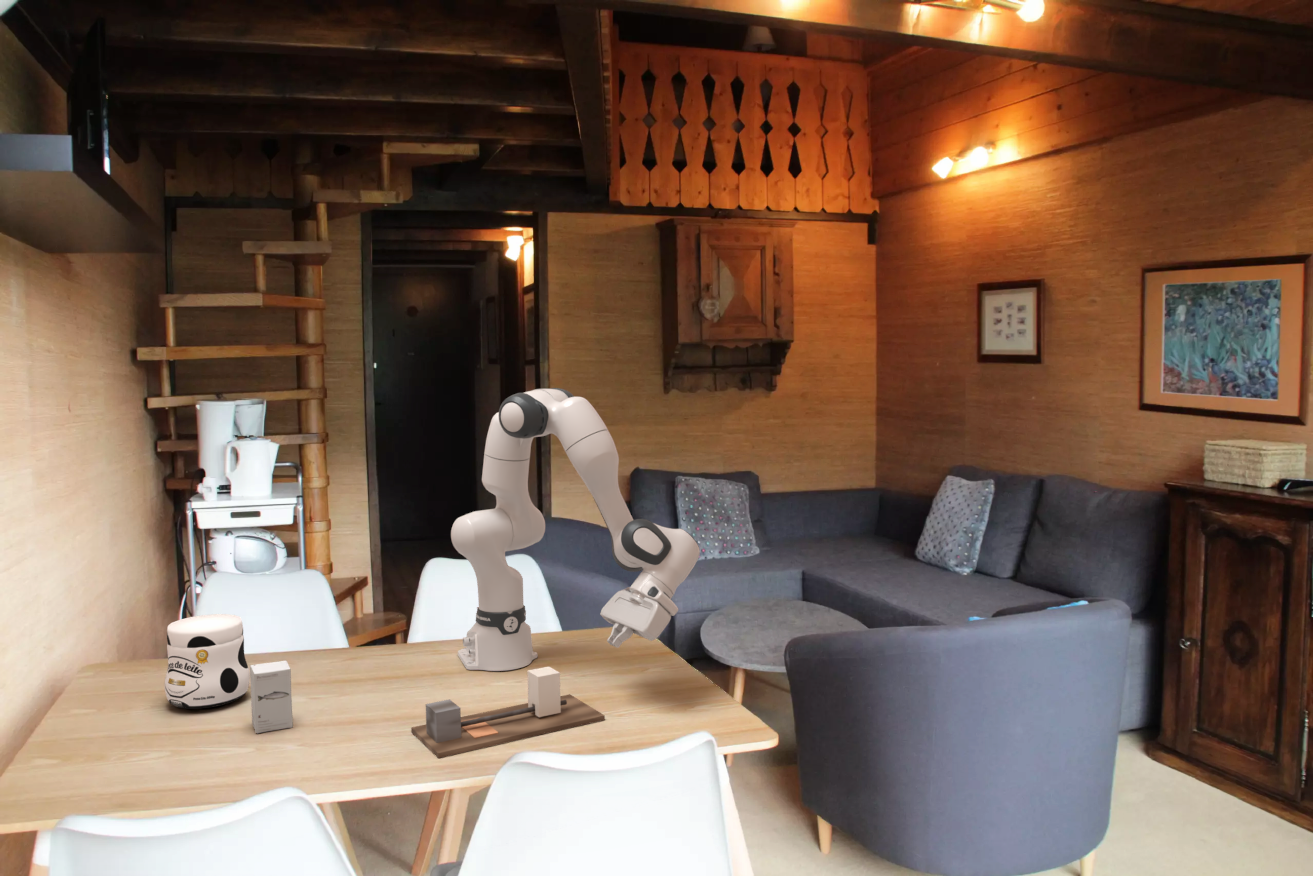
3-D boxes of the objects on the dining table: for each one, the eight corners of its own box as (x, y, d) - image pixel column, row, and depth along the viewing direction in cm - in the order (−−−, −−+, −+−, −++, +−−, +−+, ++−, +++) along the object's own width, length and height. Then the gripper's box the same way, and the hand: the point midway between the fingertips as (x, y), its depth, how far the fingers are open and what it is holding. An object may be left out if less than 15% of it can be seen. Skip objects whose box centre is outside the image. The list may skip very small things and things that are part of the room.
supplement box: (255, 734, 200) (252, 673, 199) (251, 723, 207) (249, 664, 206) (293, 728, 203) (291, 668, 202) (289, 717, 210) (286, 659, 209)
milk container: (155, 718, 210) (151, 635, 209) (177, 692, 227) (173, 615, 226) (242, 711, 214) (238, 630, 213) (257, 686, 231) (253, 610, 229)
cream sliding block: (528, 710, 208) (527, 670, 207) (549, 705, 210) (548, 666, 210) (538, 717, 203) (538, 677, 203) (560, 712, 206) (559, 672, 205)
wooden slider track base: (411, 732, 200) (410, 698, 200) (569, 698, 219) (569, 667, 219) (438, 758, 187) (437, 722, 186) (604, 720, 206) (604, 687, 205)
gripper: (617, 577, 227) (580, 626, 222) (665, 594, 209) (626, 647, 205) (634, 594, 229) (598, 642, 225) (683, 612, 212) (645, 664, 208)
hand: (612, 644), depth 215 cm, fingers closed
